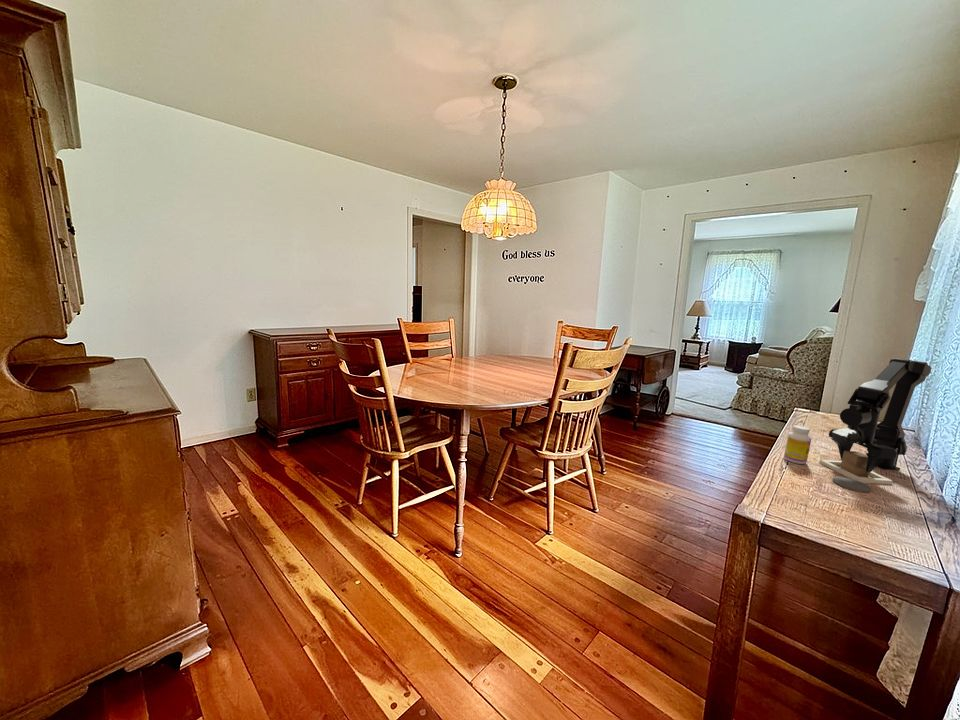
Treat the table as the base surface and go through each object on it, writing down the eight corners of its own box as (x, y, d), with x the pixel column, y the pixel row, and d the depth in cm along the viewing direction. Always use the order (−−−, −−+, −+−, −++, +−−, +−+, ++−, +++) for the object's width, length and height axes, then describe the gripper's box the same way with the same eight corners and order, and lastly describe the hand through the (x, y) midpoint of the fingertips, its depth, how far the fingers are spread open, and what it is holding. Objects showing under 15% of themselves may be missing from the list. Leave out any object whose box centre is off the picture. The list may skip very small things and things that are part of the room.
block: (853, 470, 136) (858, 451, 135) (867, 476, 131) (872, 457, 130) (839, 469, 136) (843, 450, 135) (853, 476, 131) (857, 456, 130)
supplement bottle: (807, 466, 137) (814, 432, 135) (783, 461, 141) (790, 427, 139) (805, 460, 142) (812, 427, 140) (783, 455, 146) (789, 423, 144)
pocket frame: (849, 464, 141) (850, 461, 141) (891, 484, 126) (892, 480, 126) (819, 462, 141) (819, 459, 141) (858, 482, 126) (858, 478, 126)
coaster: (852, 479, 128) (852, 477, 128) (879, 493, 119) (880, 491, 119) (825, 477, 128) (825, 476, 128) (850, 491, 119) (850, 489, 119)
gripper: (817, 413, 140) (809, 453, 142) (868, 431, 121) (857, 477, 124) (848, 415, 140) (839, 455, 142) (903, 433, 121) (892, 479, 124)
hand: (855, 466), depth 133 cm, fingers open, 9 cm apart
